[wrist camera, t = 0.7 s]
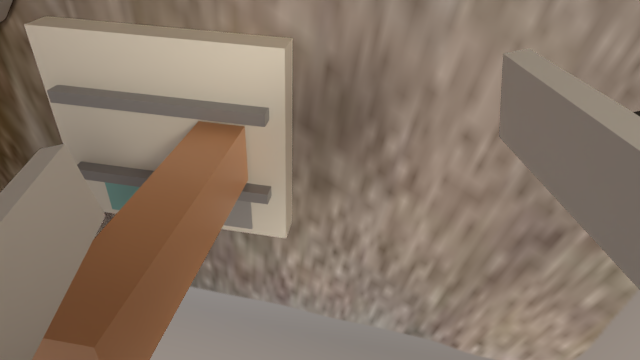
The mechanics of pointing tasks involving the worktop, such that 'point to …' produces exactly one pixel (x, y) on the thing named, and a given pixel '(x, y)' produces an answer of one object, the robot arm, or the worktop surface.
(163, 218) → the orange rectangular block
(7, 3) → the supplement can
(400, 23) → the worktop surface
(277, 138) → the switch base
